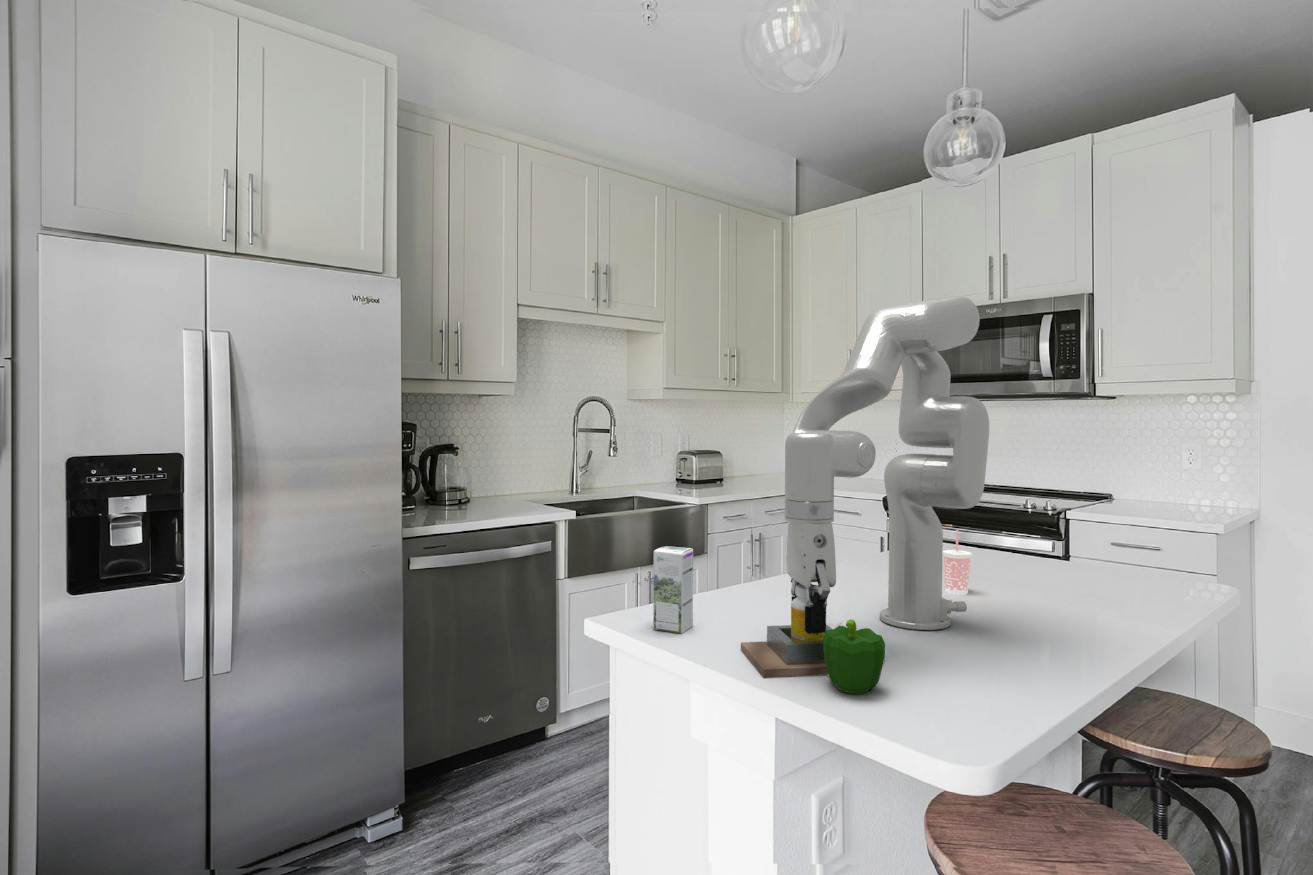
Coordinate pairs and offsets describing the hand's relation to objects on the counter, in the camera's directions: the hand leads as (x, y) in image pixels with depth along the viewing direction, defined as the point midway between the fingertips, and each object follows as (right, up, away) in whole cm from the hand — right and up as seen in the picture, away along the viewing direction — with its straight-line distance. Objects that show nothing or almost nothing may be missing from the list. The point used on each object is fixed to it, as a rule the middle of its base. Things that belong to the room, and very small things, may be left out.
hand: (808, 625), depth 112 cm
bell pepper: (+4, -6, -11) cm, 13 cm away
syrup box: (-21, -5, +17) cm, 28 cm away
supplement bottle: (0, -4, 0) cm, 4 cm away
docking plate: (0, -6, 0) cm, 6 cm away
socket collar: (0, -4, 0) cm, 4 cm away
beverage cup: (+43, -5, +46) cm, 63 cm away
